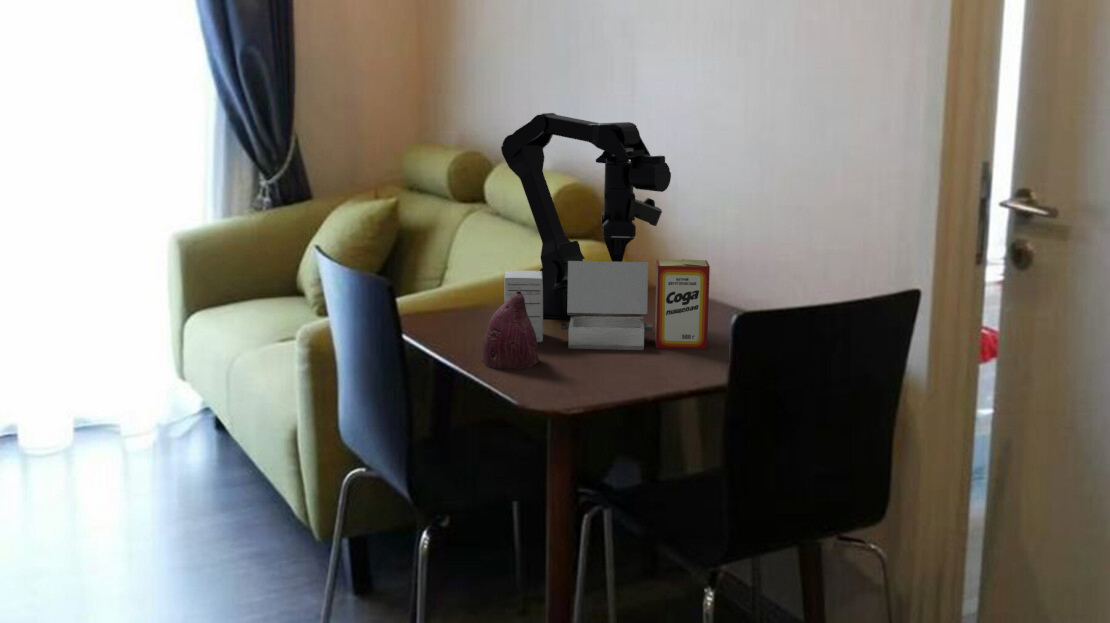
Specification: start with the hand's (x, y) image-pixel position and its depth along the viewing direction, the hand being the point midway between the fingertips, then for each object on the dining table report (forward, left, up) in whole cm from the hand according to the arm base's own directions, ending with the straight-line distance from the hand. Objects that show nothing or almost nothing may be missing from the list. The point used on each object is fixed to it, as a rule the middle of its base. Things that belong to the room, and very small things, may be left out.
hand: (616, 265), depth 240 cm
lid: (-2, -9, -3) cm, 10 cm away
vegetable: (-19, -29, -13) cm, 37 cm away
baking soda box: (+12, -14, -13) cm, 23 cm away
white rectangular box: (-2, -14, -13) cm, 19 cm away
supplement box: (-18, -11, -13) cm, 24 cm away
